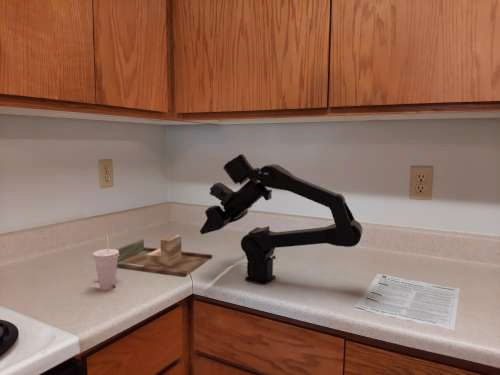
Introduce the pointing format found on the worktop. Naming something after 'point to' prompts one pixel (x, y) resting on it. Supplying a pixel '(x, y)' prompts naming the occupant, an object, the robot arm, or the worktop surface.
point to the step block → (166, 252)
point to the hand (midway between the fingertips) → (208, 229)
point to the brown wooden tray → (137, 255)
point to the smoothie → (106, 266)
